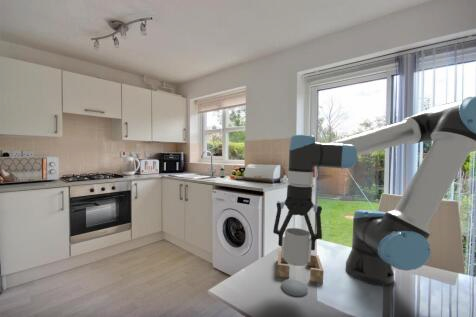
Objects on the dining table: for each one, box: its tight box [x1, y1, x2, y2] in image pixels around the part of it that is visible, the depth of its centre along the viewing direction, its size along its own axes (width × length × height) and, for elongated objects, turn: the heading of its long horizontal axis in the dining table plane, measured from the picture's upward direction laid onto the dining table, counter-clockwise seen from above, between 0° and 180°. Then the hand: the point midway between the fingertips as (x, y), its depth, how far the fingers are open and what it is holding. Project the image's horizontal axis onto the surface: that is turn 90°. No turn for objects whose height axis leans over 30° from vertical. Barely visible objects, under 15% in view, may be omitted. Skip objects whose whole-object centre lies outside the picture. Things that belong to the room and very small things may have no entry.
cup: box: [284, 227, 311, 267], centre depth 71 cm, size 7×10×9 cm
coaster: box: [281, 279, 309, 297], centre depth 72 cm, size 8×8×1 cm
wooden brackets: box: [276, 250, 325, 284], centre depth 83 cm, size 15×12×4 cm
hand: (295, 257), depth 71 cm, fingers closed on cup, 7 cm apart
